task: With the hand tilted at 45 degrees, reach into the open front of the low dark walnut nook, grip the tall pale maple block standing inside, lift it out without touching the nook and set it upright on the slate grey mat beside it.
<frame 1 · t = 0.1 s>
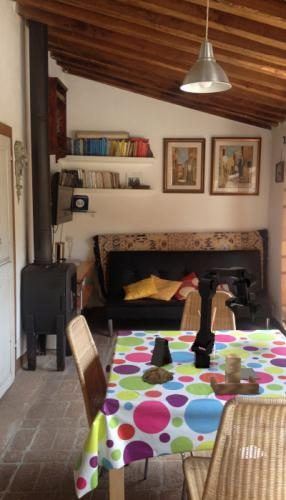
hand: (245, 319, 224), 15 cm above the table, tool pointing down, fingers open, 9 cm apart
nook: (232, 386, 178), on the table
bread roll: (156, 379, 187), on the table
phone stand: (161, 363, 205), on the table
mat: (242, 374, 192), on the table
maple block: (232, 371, 178), in the nook
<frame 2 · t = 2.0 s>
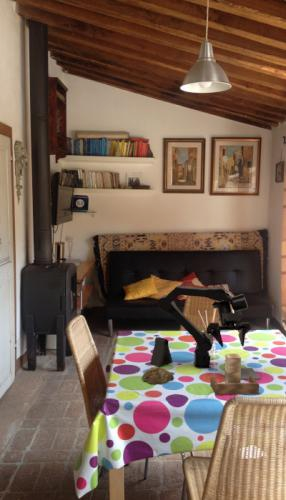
hand: (232, 346, 186), 14 cm above the table, tool tilted 45°, fingers open, 9 cm apart
nothing on the table moved.
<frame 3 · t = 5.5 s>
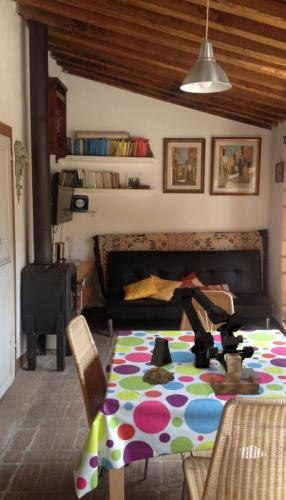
hand: (233, 372, 176), 7 cm above the table, tool tilted 45°, fingers closed on maple block, 5 cm apart
maple block: (232, 371, 178), in the nook, touching gripper
everything else where it was.
when the fingers open (8 cm above the table, at t = 10.6 s): maple block stays where it is, resting on mat.
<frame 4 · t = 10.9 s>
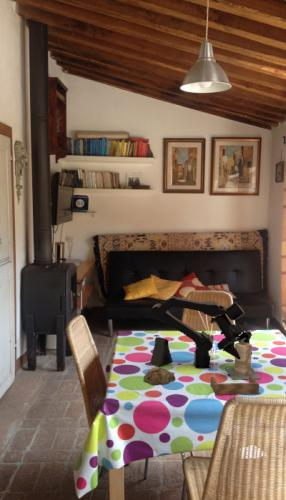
hand: (245, 356, 190), 8 cm above the table, tool tilted 45°, fingers open, 8 cm apart
maple block: (243, 358, 191), on the mat
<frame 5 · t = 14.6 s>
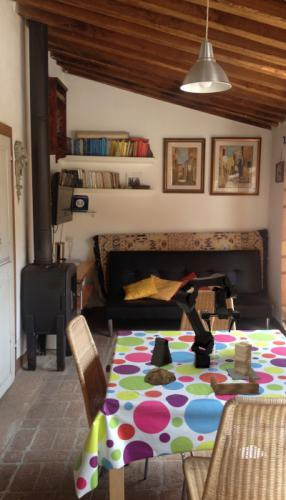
hand: (219, 332, 209), 13 cm above the table, tool pointing down, fingers open, 9 cm apart
at the end: maple block inside the target area on the mat (0.0 cm from its centre), point 6.9 cm above the mat's base; maple block tilted 0°; maple block touching mat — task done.
